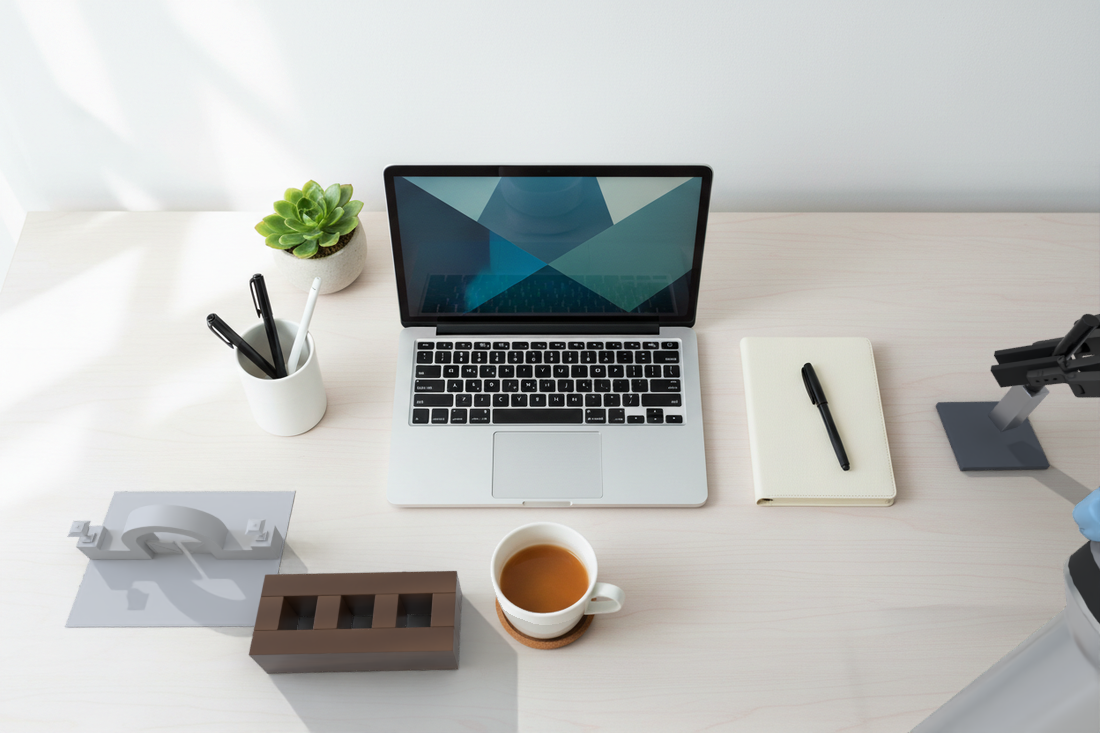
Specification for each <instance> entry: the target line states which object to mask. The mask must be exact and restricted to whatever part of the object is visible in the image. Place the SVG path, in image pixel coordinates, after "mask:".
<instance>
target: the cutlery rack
mask: <svg viewBox="0 0 1100 733" xmlns="http://www.w3.org/2000/svg"><path fill="white" fill-rule="evenodd" d="M459 578H460V577H459V573H458V570H432V571H431V570H430V571H429V570H427V571H377V572H375V571H374V572H335V573H334V572H326V573H324V572H323V573H321V572H320V573H278V574H266V575H265V578H264V583H263V587H262V592H261V597H260V602H259V607H258V612H257V617H256V621H255V626H253V631H252V632H253V633H252V635H251V636H252V637H251V642H250V646H249V651H248V657H250V658H251V659H252V660H253V662H255V663H256V664H257V665H258V666H259V667H260V668H261V669H262V670H263V671H264V672H265V673H266V674H268V675H272V674H275V675H279V674H280V675H281V674H315V673H317V674H319V673H321V674H322V673H323V674H325V673H363V672H366V673H367V672H369V673H371V672H408V671H410V672H411V671H412V672H414V671H416V672H417V671H455V670H459V668H460V650H461V649H460V648H461V647H460V646H461V645H460V644H461V626H462V625H461V624H462V623H461V622H462V605H463V604H462V603H463V592H462V587H461V583H460V579H459ZM408 616H430V626H425V627H424V626H423V627H422V626H421V627H420V626H419V627H407V625H408ZM354 617H372V623H371V628H370V627H367V628H353V623H354ZM300 618H314V620H313V626H312V629H299V623H300Z"/></svg>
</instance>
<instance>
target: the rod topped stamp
mask: <svg viewBox="0 0 1100 733" xmlns="http://www.w3.org/2000/svg"><path fill="white" fill-rule="evenodd" d="M1094 315H1095V314H1091V313H1085V314H1083V315H1082V316H1080V318H1079V319H1078V320H1079V321H1078V322H1077V323H1076V324H1075V325H1074V324H1073V326H1072V327H1071V329H1070V330H1069V331H1068V332H1067V333H1066V334H1067V335H1066V334H1065V335H1066V336H1065V335H1064V336H1063V337H1064V338H1063V339H1062V341H1061V342H1060V343H1059V344H1058V345H1057V346H1056V348H1055V349H1054V350H1053V351H1052V352H1051V353H1050V355H1049V356H1048V357H1052V356H1059V355H1060V356H1063V355H1064V356H1065V358H1066V360H1068V359H1069V358H1070V357H1073V356H1074V355H1073V354H1074V353H1075V351H1076V350H1077V349H1078V348H1079V347H1080V346H1081V345H1082V344H1083V342H1084V341H1085V340H1086V339H1087V338H1088V337H1089V336H1090V335H1091V333H1092V332H1093V331H1094V330H1095V329H1096V328H1097V327H1098V326H1099V324H1100V321H1099V319H1098V318H1097V317H1096V316H1094ZM1050 393H1051V392H1050V390H1049V389H1048V387H1046V385H1045V386H1043V385H1042V386H1037V387H1036V386H1031V384H1026V385H1018V386H1010V388H1009V389H1008V391H1007V392H1006V393H1005V394H1004V396H1003V397H1002V398H1001V399H1000V400H999V401H1000V402H999V403H998V404H997V405H996V407H995V408H994V409H993V410H992V411H991V413H990V414H989V415H988V417H989V418H990V419H991V421H992V422H993V423H994V424H995V426H996V427H997V428H998V430H999V431H1000V432H1004V431H1007V430H1010V429H1013V428H1017V427H1019V426H1020V424H1021V423H1022V422H1023V421H1024V420H1025V419H1026V418H1028V417H1029V416H1030V415H1031V414H1032V413H1033V411H1034V410H1035V409H1036V408H1037V407H1038V406H1039V405H1040V404H1041V403H1042V401H1044V399H1046V397H1047V396H1048V395H1049V394H1050Z"/></svg>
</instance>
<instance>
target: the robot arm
mask: <svg viewBox="0 0 1100 733" xmlns="http://www.w3.org/2000/svg"><path fill="white" fill-rule="evenodd" d="M1093 315H1094V316H1096V317H1097V318H1098V319H1099V321H1100V313H1097V314H1093ZM1078 321H1079V319H1077V320H1075V321H1074V322H1073V326H1074V325H1075V324H1076V323H1077V322H1078ZM1067 334H1068V333H1066V334H1065V335H1064V336H1061V337H1055V338H1048V339H1043V340H1037V341H1035V342H1032V344H1029V345H1023V346H1016V347H1010V348H1004V349H998V350H995V351H994V353H993V357H994V359H995V360H996V362H997V364H992V365H991V366H990V370H989V371H990V373H991V375H992V376H993V378H994V379H995V381H996V382H997V384H998V386H999V388H1009V387H1010V388H1011V387H1012V386H1018V385H1026V384H1031V386H1036V387H1037V386H1042V385H1043V386H1045V387H1046V386H1052V385H1053V386H1054V385H1060V384H1067V385H1068V387H1069V388H1070V391H1071V392H1072V393H1073V395H1074V397H1075V398H1078V399H1079V398H1080V399H1082V398H1083V399H1084V398H1085V399H1092V398H1093V399H1094V398H1095V399H1096V398H1097V399H1098V398H1100V324H1099V326H1098V327H1097V328H1096V329H1095V330H1094V331H1093V332H1092V333H1091V335H1090V336H1089V337H1088V338H1087V339H1086V340H1085V341H1084V342H1083V344H1082V345H1081V346H1080V347H1079V348H1078V349H1077V350H1076V351H1075V353H1074V354H1073V355H1072V356H1071V357H1070V358H1069V359H1068V360H1066V358H1065V356H1064V355H1063V356H1060V355H1059V356H1052V357H1048V356H1049V355H1050V353H1051V352H1052V351H1053V350H1054V349H1055V348H1056V346H1057V345H1058V344H1059V343H1060V342H1061V341H1062V339H1063V338H1064V337H1065V336H1066V335H1067ZM1073 357H1074V358H1073ZM1071 515H1072V519H1073V522H1075V524H1076V525H1077V527H1078V532H1079V533H1080V534H1081V535H1082V536H1083V537H1084V538H1085V539H1087V542H1085V543H1084V544H1083V545H1082V546H1080V547H1079V548H1078V549H1077V550H1076V551H1075V552H1073V553H1071V555H1070V556H1068V557H1067V558H1066V559H1065V561H1064V563H1063V568H1062V574H1063V585H1064V594H1065V595H1064V596H1065V607H1064V608H1063V609H1062V610H1061V611H1059V612H1058V613H1057V614H1056V615H1054V616H1053V617H1052V618H1051V619H1049V620H1048V621H1047V622H1046V623H1044V624H1043V625H1042V626H1041V627H1040V628H1038V629H1036V630H1035V631H1034V632H1033V633H1031V634H1030V635H1029V636H1028V637H1027V638H1025V639H1024V640H1023V641H1022V642H1021V643H1019V644H1018V645H1017V646H1015V647H1014V648H1013V649H1011V650H1010V651H1009V652H1007V654H1005V655H1004V656H1003V657H1001V658H1000V659H999V660H997V661H996V662H995V663H994V664H992V665H991V666H990V667H989V668H988V669H987V670H985V671H983V673H981V674H979V675H978V676H977V677H976V678H974V680H972V681H971V682H970V683H968V684H967V685H966V686H965V687H964V688H962V689H961V690H960V691H958V692H957V693H956V694H955V695H953V696H952V697H951V698H950V699H948V700H947V701H946V702H944V703H943V704H942V705H940V707H938V708H937V709H936V710H934V711H933V712H932V713H931V714H929V716H927V717H926V718H924V719H923V720H922V721H920V723H918V724H917V725H915V726H914V727H913V728H911V729H910V730H909V731H908V732H907V733H1100V486H1099V487H1097V488H1096V489H1094V490H1093V491H1091V492H1090V493H1089V494H1088V495H1086V496H1085V497H1084V498H1083V499H1082V500H1081V501H1079V502H1077V504H1076V505H1075V506H1074V508H1073V510H1072V512H1071Z"/></svg>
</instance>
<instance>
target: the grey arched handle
mask: <svg viewBox="0 0 1100 733" xmlns="http://www.w3.org/2000/svg"><path fill="white" fill-rule="evenodd" d="M91 522H92V520H73V521H72V524H71V526H70V529H69V531H68V532H67V533H68V534H67V535H66V538H78V540H77V543H76V545H75V548H76V549H77V550H79V551H80V552H81V553H82V554H83V555H84V556H86V557H87V558H88V559H89V560H153V559H154V556H155V555H172V554H183V553H184V551H183V549H182V548H181V547H180V546H179V545H178V544H177V543H176V542H175V541H174V540H160V538H159V537H158V536H157V535H156V534H155V533H168V534H175V535H181V536H186V537H189V538H193V539H181V540H180V541H179V543H180V544H181V545H182V546H183V547H184V548H185V550H186V551H187V552H188V553H189V554H212V555H213V556H214V558H215V559H216V560H279V559H280V558H281V559H282V556H283V551H284V545H285V541H286V537H285V538H284V537H283V536H282V534H281V533H280V531H279V529H278V528H277V526H276V525H275V524H266V522H267V519H266V518H249V519H248V520H247V524H246V528H231V529H229V528H228V527H227V526H226V525H225V523H224V522H223V521H222V520H221V519H220V518H218V517H217V516H215V515H213V514H211V513H209V512H206V511H204V510H201V509H197V508H193V507H189V506H184V505H177V504H166V503H158V504H148V505H144V506H140V507H137V508H135V509H133V510H132V511H131V512H130V513H129V514H128V516H127V519H126V522H125V525H124V528H123V529H108V528H106V527H105V526H104V525H90V524H91Z"/></svg>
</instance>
